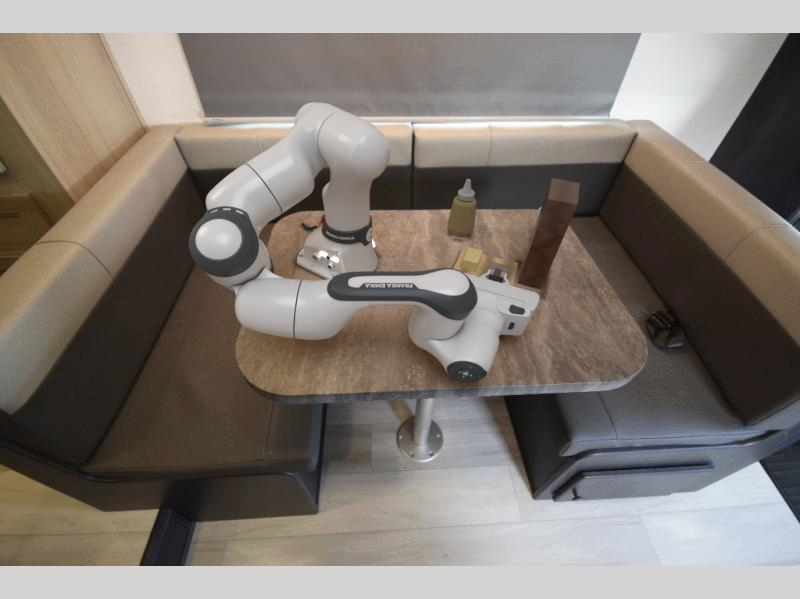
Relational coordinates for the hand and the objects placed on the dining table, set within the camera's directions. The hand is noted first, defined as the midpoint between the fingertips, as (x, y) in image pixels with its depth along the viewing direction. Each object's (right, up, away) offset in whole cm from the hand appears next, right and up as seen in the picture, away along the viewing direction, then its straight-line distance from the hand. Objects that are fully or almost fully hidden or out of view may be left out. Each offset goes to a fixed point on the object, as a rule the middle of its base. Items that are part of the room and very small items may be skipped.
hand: (497, 273), depth 83 cm
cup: (+20, +11, +24) cm, 33 cm away
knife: (+1, 0, +4) cm, 4 cm away
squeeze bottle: (-5, +14, +26) cm, 30 cm away
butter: (-3, +4, +14) cm, 15 cm away
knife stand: (+12, 0, +12) cm, 17 cm away
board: (0, +1, +13) cm, 13 cm away
